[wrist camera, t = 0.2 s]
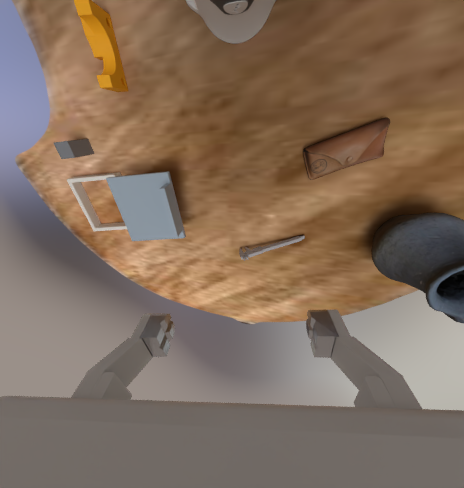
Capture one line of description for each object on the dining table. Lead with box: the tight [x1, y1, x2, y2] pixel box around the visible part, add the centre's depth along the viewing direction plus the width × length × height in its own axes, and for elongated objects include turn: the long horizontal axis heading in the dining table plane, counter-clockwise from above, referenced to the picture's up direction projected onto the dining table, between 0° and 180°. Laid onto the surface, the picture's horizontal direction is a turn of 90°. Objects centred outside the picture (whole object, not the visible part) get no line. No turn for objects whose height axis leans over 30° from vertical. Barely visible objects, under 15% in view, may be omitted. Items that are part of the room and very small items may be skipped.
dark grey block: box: [54, 139, 94, 159], centre depth 49 cm, size 4×4×7 cm
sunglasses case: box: [303, 118, 390, 180], centre depth 47 cm, size 18×7×7 cm
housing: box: [67, 172, 127, 231], centre depth 59 cm, size 16×14×3 cm
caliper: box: [239, 235, 305, 261], centre depth 60 cm, size 20×1×6 cm, turn 106°
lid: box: [106, 171, 186, 241], centre depth 48 cm, size 17×15×5 cm
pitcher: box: [372, 213, 464, 323], centre depth 49 cm, size 21×22×25 cm
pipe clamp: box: [74, 0, 128, 92], centre depth 40 cm, size 12×4×6 cm, turn 2°
